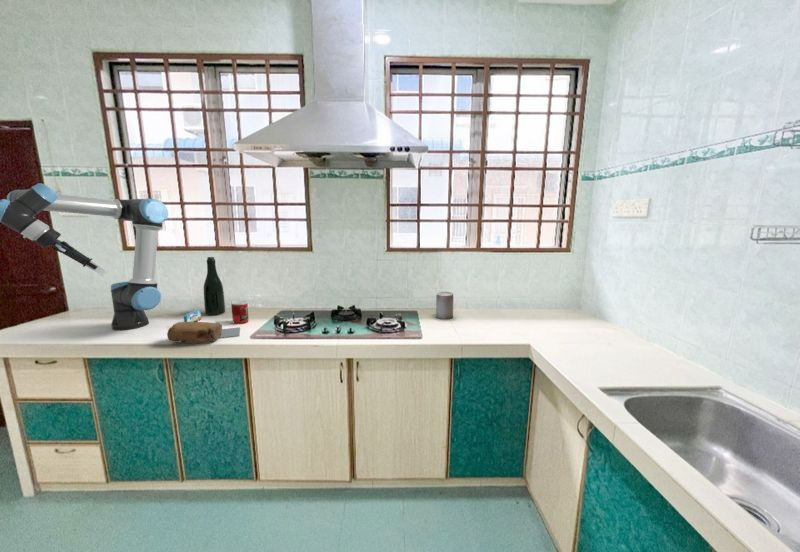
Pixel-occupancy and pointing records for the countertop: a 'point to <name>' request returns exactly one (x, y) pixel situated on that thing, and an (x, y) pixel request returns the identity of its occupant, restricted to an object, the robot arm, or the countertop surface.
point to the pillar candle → (444, 305)
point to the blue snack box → (193, 316)
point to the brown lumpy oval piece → (195, 332)
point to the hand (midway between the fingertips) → (104, 272)
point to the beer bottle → (213, 290)
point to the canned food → (240, 312)
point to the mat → (228, 333)
